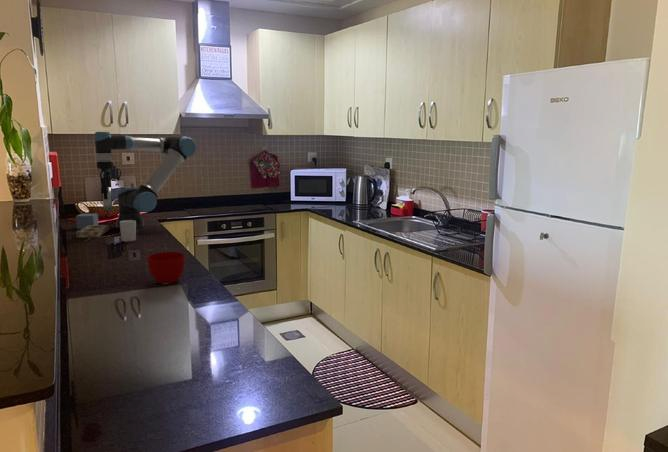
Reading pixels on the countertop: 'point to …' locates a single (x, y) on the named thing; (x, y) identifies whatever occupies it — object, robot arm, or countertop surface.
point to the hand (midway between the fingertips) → (107, 204)
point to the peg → (109, 207)
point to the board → (92, 231)
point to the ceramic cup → (166, 266)
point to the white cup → (128, 230)
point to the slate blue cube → (86, 220)
